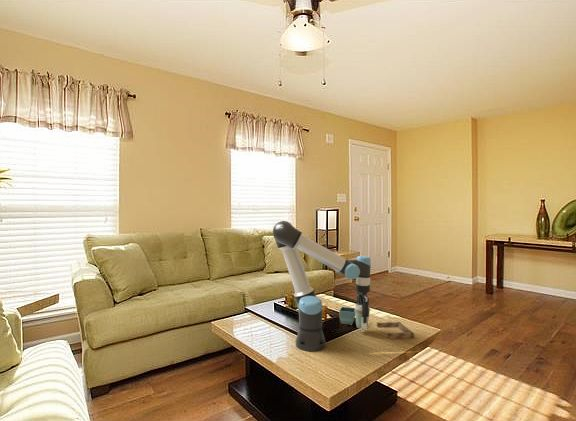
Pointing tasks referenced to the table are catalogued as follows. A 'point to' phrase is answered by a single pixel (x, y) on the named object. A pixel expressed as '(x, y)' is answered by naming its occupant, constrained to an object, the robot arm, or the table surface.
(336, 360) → the table surface
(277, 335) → the table surface
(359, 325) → the coffee cup
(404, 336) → the bay
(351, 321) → the flower pot
